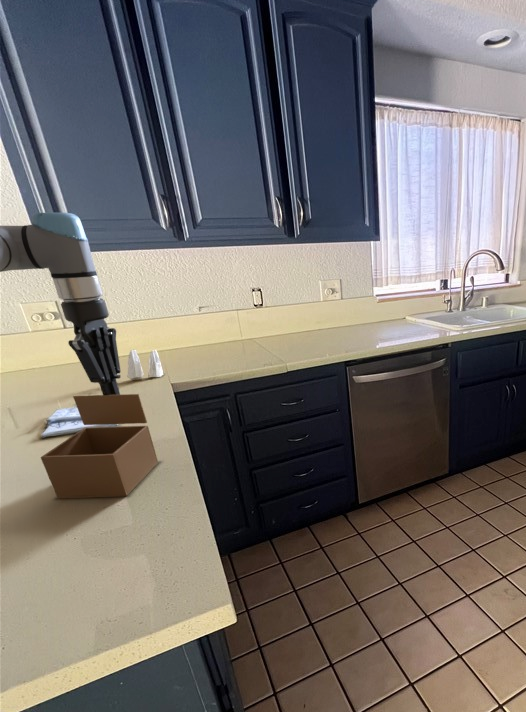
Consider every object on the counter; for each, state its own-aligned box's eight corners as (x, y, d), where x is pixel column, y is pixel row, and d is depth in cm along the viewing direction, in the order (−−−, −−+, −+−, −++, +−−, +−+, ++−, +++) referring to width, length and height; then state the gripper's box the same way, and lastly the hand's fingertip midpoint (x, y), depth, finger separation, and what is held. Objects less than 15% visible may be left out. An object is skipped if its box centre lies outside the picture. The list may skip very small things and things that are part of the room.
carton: (57, 498, 86) (40, 457, 82) (98, 464, 99) (84, 427, 95) (126, 496, 86) (113, 455, 82) (158, 462, 99) (147, 425, 95)
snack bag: (128, 404, 135) (126, 397, 134) (118, 428, 118) (115, 421, 117) (58, 413, 129) (55, 407, 128) (35, 440, 112) (32, 433, 111)
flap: (72, 396, 92) (73, 395, 92) (83, 425, 95) (84, 424, 95) (137, 394, 92) (138, 393, 92) (146, 423, 95) (147, 422, 95)
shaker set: (129, 382, 155) (120, 352, 150) (128, 379, 158) (119, 350, 153) (164, 376, 161) (157, 347, 156) (163, 374, 164) (156, 345, 159)
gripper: (83, 295, 91) (115, 398, 101) (40, 304, 79) (81, 420, 89) (118, 294, 91) (147, 397, 101) (81, 303, 79) (117, 419, 89)
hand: (116, 408), depth 95 cm, fingers closed
